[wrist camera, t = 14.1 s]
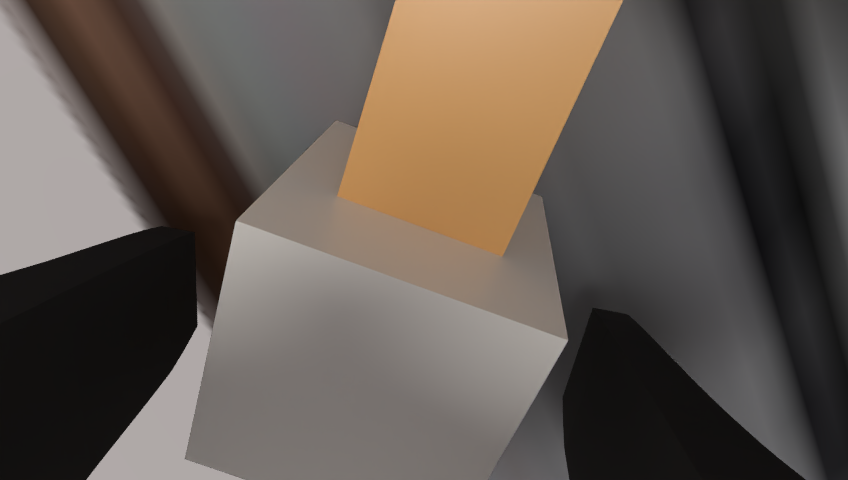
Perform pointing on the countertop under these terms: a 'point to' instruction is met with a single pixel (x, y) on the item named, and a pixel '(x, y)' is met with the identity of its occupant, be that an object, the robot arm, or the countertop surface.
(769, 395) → the countertop surface
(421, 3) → the plug
